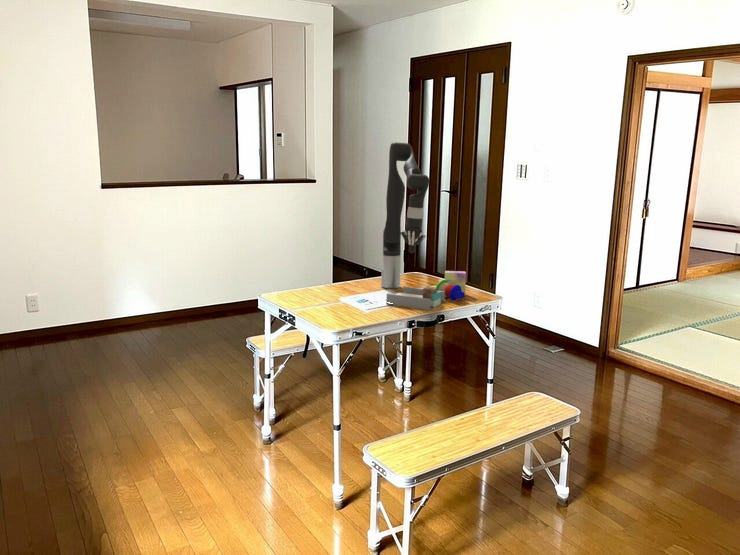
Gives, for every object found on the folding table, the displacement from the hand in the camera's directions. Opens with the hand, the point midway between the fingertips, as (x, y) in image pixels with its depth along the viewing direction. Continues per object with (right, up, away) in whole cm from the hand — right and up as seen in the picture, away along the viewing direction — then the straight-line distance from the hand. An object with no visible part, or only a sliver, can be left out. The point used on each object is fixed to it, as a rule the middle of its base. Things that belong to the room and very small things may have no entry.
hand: (411, 252), depth 299 cm
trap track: (+2, -24, -2) cm, 24 cm away
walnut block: (+8, -22, -6) cm, 24 cm away
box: (+23, -21, +15) cm, 34 cm away
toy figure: (+19, -23, +5) cm, 30 cm away
